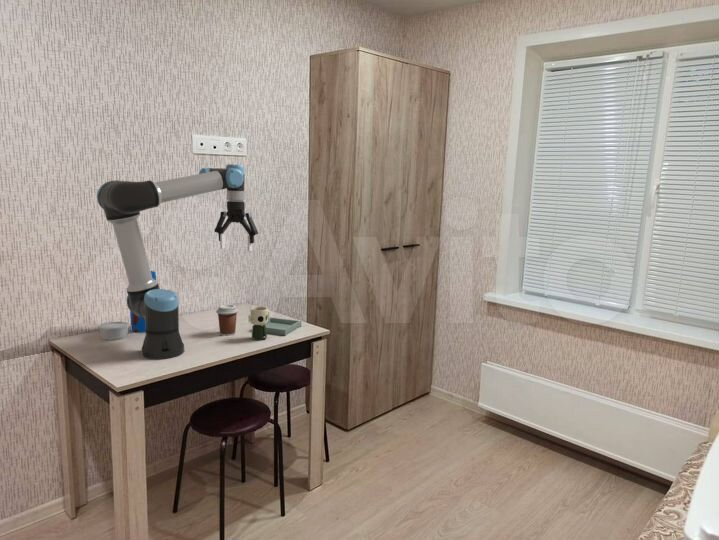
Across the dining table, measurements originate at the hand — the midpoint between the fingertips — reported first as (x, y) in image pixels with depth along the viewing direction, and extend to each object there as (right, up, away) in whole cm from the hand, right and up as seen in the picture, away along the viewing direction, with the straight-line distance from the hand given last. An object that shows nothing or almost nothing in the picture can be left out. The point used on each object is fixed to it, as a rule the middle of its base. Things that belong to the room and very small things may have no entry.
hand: (236, 249), depth 225 cm
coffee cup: (-3, -36, -4) cm, 37 cm away
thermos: (-40, -35, -1) cm, 53 cm away
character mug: (+12, -38, -10) cm, 41 cm away
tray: (+17, -35, +5) cm, 39 cm away
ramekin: (-47, -37, -13) cm, 61 cm away
